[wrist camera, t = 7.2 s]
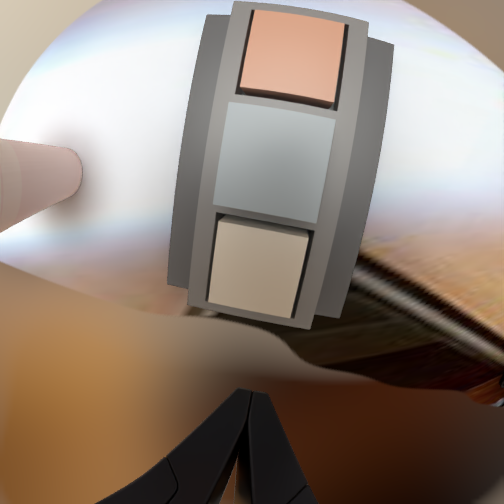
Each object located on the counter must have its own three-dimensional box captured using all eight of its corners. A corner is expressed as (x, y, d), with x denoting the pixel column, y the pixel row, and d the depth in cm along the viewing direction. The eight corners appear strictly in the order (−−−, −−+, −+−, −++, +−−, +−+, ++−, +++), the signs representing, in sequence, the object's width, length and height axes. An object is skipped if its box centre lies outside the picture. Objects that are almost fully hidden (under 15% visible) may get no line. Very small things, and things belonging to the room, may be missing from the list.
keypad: (389, 49, 15) (404, 33, 12) (337, 311, 20) (343, 335, 17) (210, 20, 15) (197, 0, 12) (172, 278, 20) (154, 297, 18)
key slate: (328, 125, 14) (335, 119, 12) (312, 213, 15) (316, 223, 13) (238, 110, 14) (228, 101, 12) (224, 197, 16) (212, 204, 13)
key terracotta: (338, 40, 14) (344, 23, 12) (327, 110, 15) (333, 102, 13) (259, 27, 14) (255, 9, 12) (247, 96, 16) (239, 86, 13)
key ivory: (306, 227, 17) (308, 238, 15) (290, 298, 19) (290, 318, 16) (228, 212, 18) (218, 221, 15) (218, 284, 19) (208, 302, 17)
